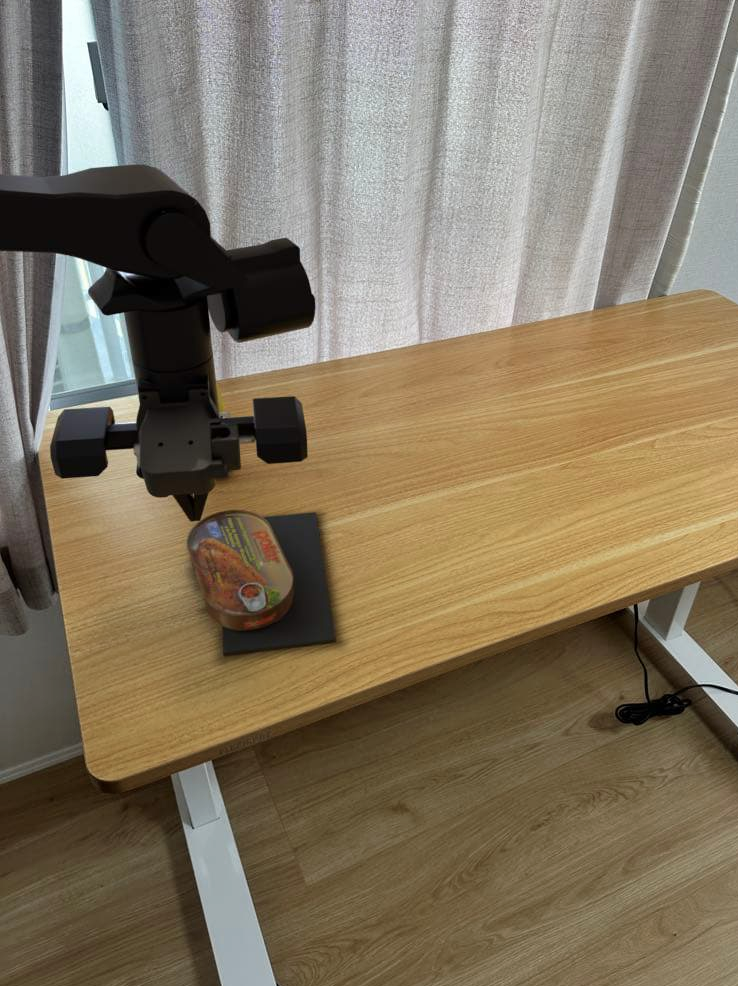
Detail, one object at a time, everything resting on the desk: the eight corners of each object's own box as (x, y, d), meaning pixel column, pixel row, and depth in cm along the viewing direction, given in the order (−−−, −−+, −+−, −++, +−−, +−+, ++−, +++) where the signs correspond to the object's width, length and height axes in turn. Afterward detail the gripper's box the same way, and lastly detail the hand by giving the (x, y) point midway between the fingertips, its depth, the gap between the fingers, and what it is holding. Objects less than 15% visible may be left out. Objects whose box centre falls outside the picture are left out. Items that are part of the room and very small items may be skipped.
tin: (178, 521, 81) (259, 497, 83) (185, 544, 83) (264, 519, 85) (212, 625, 70) (304, 594, 72) (219, 649, 72) (308, 617, 74)
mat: (223, 655, 71) (222, 652, 71) (221, 523, 85) (221, 520, 85) (335, 642, 73) (335, 639, 73) (316, 514, 87) (315, 511, 87)
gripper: (14, 422, 50) (64, 598, 60) (312, 404, 54) (316, 574, 63) (42, 339, 59) (83, 504, 68) (298, 328, 62) (303, 487, 72)
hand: (195, 518), depth 68 cm, fingers closed
